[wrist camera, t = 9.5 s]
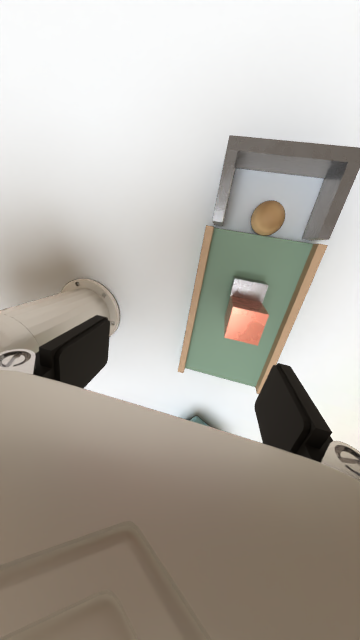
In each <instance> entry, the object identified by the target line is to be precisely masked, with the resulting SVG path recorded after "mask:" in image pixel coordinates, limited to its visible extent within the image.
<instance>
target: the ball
mask: <svg viewBox="0 0 360 640" xmlns="http://www.w3.org/2000/svg"><path fill="white" fill-rule="evenodd" d="M284 219H285V210H284V208H283V206H282V205H281V204H280V203H279V202H277V201H266V202H263V203H262V204H260V205H259V206H258V207H257V208H256V209H255V210H254V212H253V214H252V217H251V226H252V228H253V230H254V231H255V232H256V233H257V234H259V235H263V236H266V235H271V234H273V233H275V232H276V231H277V230H278V229H279V228H280V227H281V226H282V224H283V222H284Z"/></svg>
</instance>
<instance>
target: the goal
mask: <svg viewBox="0 0 360 640" xmlns="http://www.w3.org/2000/svg"><path fill="white" fill-rule="evenodd" d="M235 168H241V169H249V170H258V171H266V172H275V173H283V174H291V175H300V176H308V177H317V178H325V179H324V182H323V184H322V187H321V190H320V192H319V195H318V198H317V200H316V203H315V205H314V208H313V211H312V213H311V216H310V219H309V221H308V224H307V227H306V229H305V232H304V235H303V237H302V239H305V240H311V241H312V240H327V239H329V238H330V236H331V234H332V231H333V229H334V227H335V224H336V222H337V220H338V217H339V215H340V213H341V210H342V208H343V206H344V203H345V201H346V199H347V196H348V194H349V192H350V189H351V187H352V185H353V182H354V180H355V178H356V175H357V173H358V171H359V168H360V148H356V147H346V146H336V145H325V144H315V143H304V142H294V141H283V140H273V139H262V138H252V137H242V136H231V135H230V136H229V141H228V146H227V151H226V155H225V160H224V165H223V170H222V175H221V180H220V185H219V190H218V195H217V200H216V205H215V210H214V215H213V219H212V221H213V223H214V225H218V226H223V222H224V217H225V213H226V208H227V204H228V199H229V195H230V190H231V186H232V181H233V177H234V172H235Z"/></svg>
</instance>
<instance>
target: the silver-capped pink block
mask: <svg viewBox="0 0 360 640" xmlns="http://www.w3.org/2000/svg"><path fill="white" fill-rule="evenodd" d="M268 286H269V285H268V284H267V283H266V282H264V281H258V280H253V279H248V278H243V277H238V276H234V278H233V281H232V285H231V289H230V300H229V303H228V307H227V311H226V314H225V318H224V338H228V339H232V340H236V341H240V342H245V343H249V344H253V345H257V346H258V344H259V341H260V338H261V336H262V333H263V330H264V327H265V325H266V322H267V319H268V317H269V314H268V312H267V311H266V309H265V308H264V306H263V304H262V303H263V300H264V297H265V294H266V292H267V289H268ZM261 302H262V303H261Z"/></svg>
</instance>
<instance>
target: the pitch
mask: <svg viewBox="0 0 360 640" xmlns="http://www.w3.org/2000/svg"><path fill="white" fill-rule="evenodd" d="M327 246H328V245H323V244H310V243H304V242H298V241H292V240H286V239H280V238H274V237H268V236H261V235H255V234H249V233H243V232H237V231H231V230H225V229H219V228H214V227H213V226H206V229H205V234H204V239H203V244H202V249H201V254H200V260H199V265H198V270H197V275H196V280H195V285H194V291H193V296H192V301H191V306H190V311H189V316H188V322H187V327H186V332H185V337H184V342H183V347H182V353H181V358H180V363H179V368H178V372H181V373H183V372H184V369H185V368H187V369H191V370H194V371H198V372H202V373H205V374H209V375H213V376H216V377H220V378H224V379H228V380H231V381H235V382H239V383H242V384H246V385H250V386H253V387H256V392H257V394H260V391H261V389H262V387H263V385H264V383H265V381H266V379H267V376H268V374H269V372H270V370H271V368H272V366H273V365H276V364H277V361H278V359H279V357H280V354H281V352H282V350H283V347H284V345H285V343H286V340H287V338H288V336H289V333H290V331H291V329H292V327H293V324H294V322H295V320H296V317H297V315H298V313H299V310H300V308H301V306H302V303H303V301H304V299H305V296H306V294H307V292H308V290H309V287H310V285H311V283H312V280H313V278H314V276H315V273H316V271H317V269H318V266H319V264H320V262H321V259H322V257H323V255H324V253H325V250H326V248H327ZM234 276H238V277H243V278H248V279H253V280H258V281H264V282H266V283H267V284H268V285H269V286H268V289H267V292H266V294H265V297H264V300H263V303H262V302H261V303H262V304H263V306H264V308H265V309H266V311H267V312H268V314H269V317H268V319H267V322H266V325H265V327H264V330H263V333H262V336H261V338H260V341H259V344H258V346H257V345H253V344H249V343H245V342H240V341H236V340H232V339H228V338H224V318H225V314H226V311H227V307H228V303H229V300H230V289H231V285H232V281H233V278H234Z"/></svg>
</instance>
